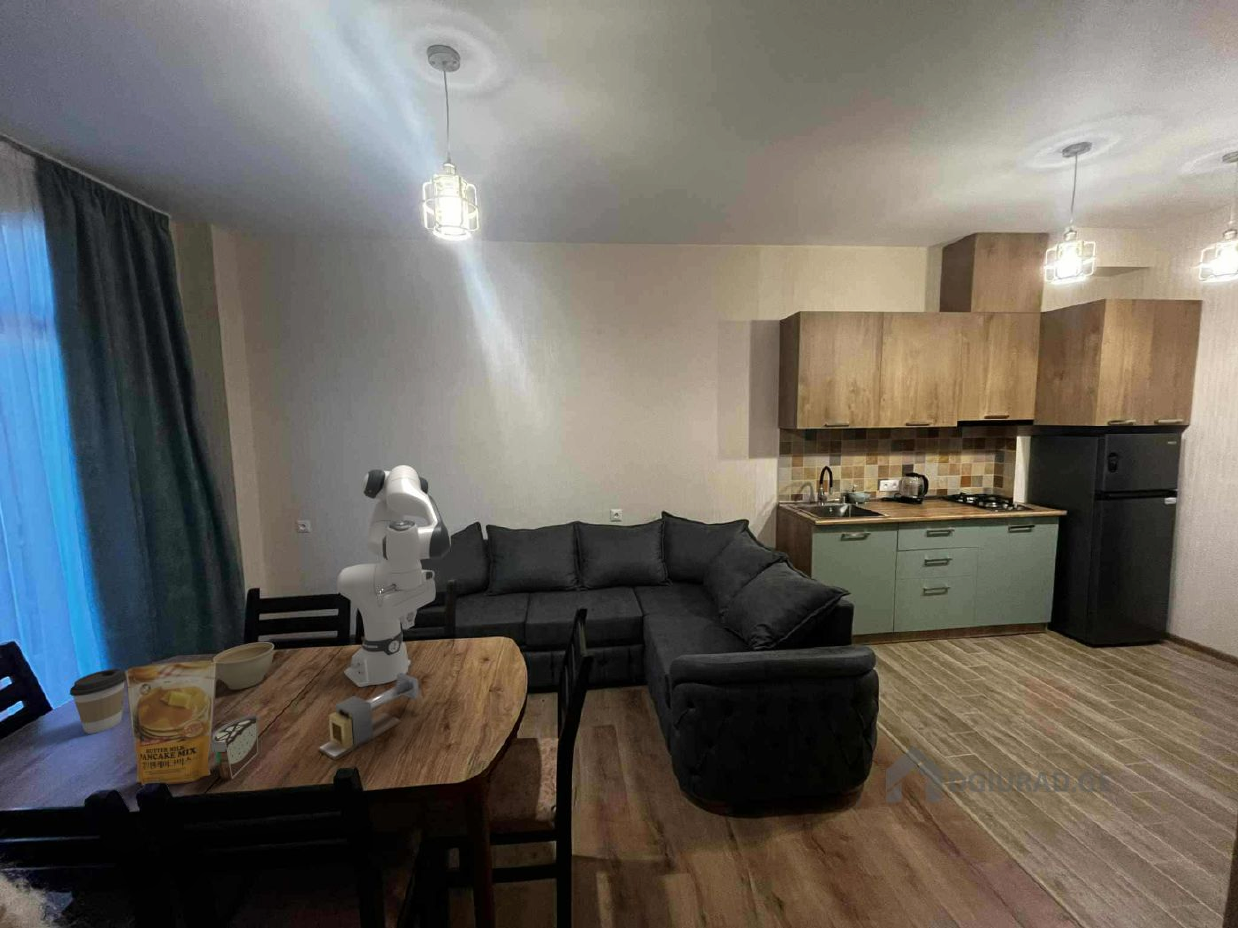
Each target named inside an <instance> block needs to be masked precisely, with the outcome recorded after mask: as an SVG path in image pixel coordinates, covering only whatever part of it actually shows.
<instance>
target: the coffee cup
mask: <svg viewBox="0 0 1238 928" xmlns="http://www.w3.org/2000/svg"><path fill="white" fill-rule="evenodd" d="M125 682H126V677H125V673H124V672H123V671H122V669H120V668H111V669H105V670H100V671H96V672H93V673H90V674H87V675H84V676H82V677H80V678H78V679H77V680H76V681H74V683H73V686H71V688H70V690H69V695H71V696H72V697H73V700H74V703H75V707H76V709H77V713H78V716H79V720H80V722H81V724H82V729H83V731H84V732H85V733H86V735H87V734H88V735H91V734H92V735H93V734H97V733H101V732H102V733H103V732H105V731H107V730H110V729H112V728H114V727H116V726H117V725H119V724H120V723H121V722H122V719H123V718H122V717H123V706H124V705H123V704H124V695H125V694H124V693H125Z"/></svg>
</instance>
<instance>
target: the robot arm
mask: <svg viewBox="0 0 1238 928" xmlns="http://www.w3.org/2000/svg"><path fill="white" fill-rule="evenodd" d="M361 485H362V486H361V487H362V493H363V495H364V496H365V497H368V498H370V499H376V500H379V501H378V502H377V503H376V504H375V507H374V509H373V511H372V515H371V518H370V522H369V529H368V534H367V542H366V546H367V549H368V550H369V551H370V552H371V553H372V554H374V555H376V556H379V557H381V558H382V560H381V562H374V563H364V564H363V563H362V564H361V563H359V564H355V565H351V566H347V567H345V568H343V569H342V570H341V571H340V573H339V575H338V577H337V579H336V587H337V590H338V592H339V593H340V595H341V596H343V597H345V598H347V599H348V600H349V601H351V602H353V604H354V605H355V606H356V607H357V609H358V610H359V612H360V614H361V618H362V622H363V623H362V624H363V629H364V635H363V636H361V641H362V646H361V647H360V648H359V650H357V651H356V652H355V653H354V654H353V655H352V657H351V662H350V666H349V667H348V668H346V669H345V670H344V674H343V675H345V676H346V678H348V679H349V680H351V682H353V683H354V684H355V685H356V686H357V687H359V688H365V687H367V686H368V687H369V686H373V685H374V686H375V685H382V684H386V683H391V682H394V681H397V674H399V673H403V674H406V675H407V673H408V671H409V666H410V665H411V664H412V661H411V659H408V653H407V647H406V643H405V642H404V639H403V637H404V635H403V630H408V629H410V628H411V627H413V626H415V618H416V615H417V611H418V609H420V608H421V607H422V608H423V606H426V605H428V604H429V603H431V602H433V601H435V598H436V595H437V594H436V582H435V571H434V570H432V569H431V570H430V569H423V568H422V563H421V560H426V559H427V560H428V559H442V558H443V557H444V556H446V555H447V554H448V552H449V551H450V550H451V546H452V540H451V535H450V533H449V531H448V528H447V527H446V525H445V523H444V521H443V519H442V518H443V517H442V516H441V513H440V511H439V508H438V506H437V503H436V501H435V500H434V498H433V497H432V496H431V495H429V490H430V487H429V482H428V480H427V479H426V478H424V477H421V476H420V475H418V473H417V471H416V469H414V468H413V467H411V466H409V465H406V464H405V465H404V464H403V465H398V466H394V467H393V468H392V469H391V471H390V470H382V469H371V470H369V471H368V472H367V473H366V474H365V476H364V478H363V480H362V484H361ZM405 516H412V517H419V518H421V519H422V518H423V519H424V520H426V523H427V525H428V526H420V527H419V526H418V525H417V523H416V522H415V521H413V520H405Z"/></svg>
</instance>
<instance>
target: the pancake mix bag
mask: <svg viewBox="0 0 1238 928" xmlns="http://www.w3.org/2000/svg"><path fill="white" fill-rule="evenodd" d="M123 673H125V677H126V680H125V682H126V692H127V697H128V707H129V708H128V710H129V717H130V727H131V730H132V734H133V741H134V749H135V752H136V758H137V764H136V766H137V767H136V768H137V769H136V770H137V776H136V783H141V786H142V787H144V786H143V785H145V784H147V783H151V782H166V783H167V784H168V785H175V784H187V783H194V782H196V781H199V780H200V779H202V778H204V777H207V776H210V775H211V771H210V768H209V766H208V763H209V762H208V761H209V753H210V749H211V740H212V738H211V735H212V730H213V729H212V728H213V718H214V709H215V705H216V689H217V687H216V686H217V680H218V666H217V662H213V660H212V659H197V660H191V661H190V660H189V661H178V662H177V661H176V662H175V661H174V662H166V663H157V664H156V663H155V664H147V665H141V666H139V665H138V666H134V667H131V668H128V669H127V670H125V671H123Z"/></svg>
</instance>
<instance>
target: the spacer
mask: <svg viewBox="0 0 1238 928" xmlns="http://www.w3.org/2000/svg"><path fill="white" fill-rule="evenodd" d="M328 724H329V738H330V740H329V741H331V742H333V743H334V744H336V745H338V746H340V747H341V748H343V749H345V750H346V749H348V748H350V747H351V746H353V734H352V720H351V719H350V718H348V717H346V716H344V715H342V714H340V713H338V712H336V711H335V712H333V713H331V714H329V715H328ZM340 726H341V731H340ZM341 733H342V734H341Z"/></svg>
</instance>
